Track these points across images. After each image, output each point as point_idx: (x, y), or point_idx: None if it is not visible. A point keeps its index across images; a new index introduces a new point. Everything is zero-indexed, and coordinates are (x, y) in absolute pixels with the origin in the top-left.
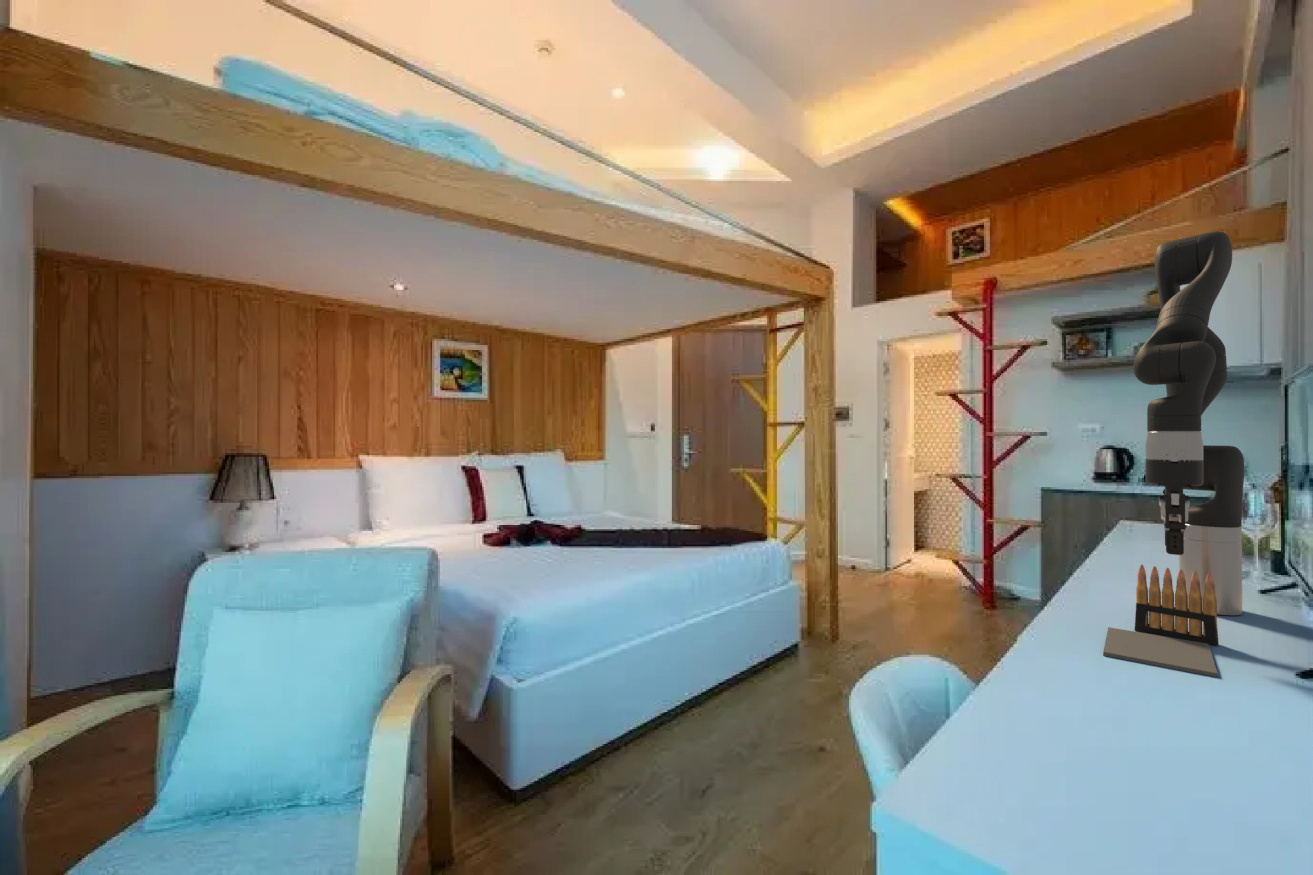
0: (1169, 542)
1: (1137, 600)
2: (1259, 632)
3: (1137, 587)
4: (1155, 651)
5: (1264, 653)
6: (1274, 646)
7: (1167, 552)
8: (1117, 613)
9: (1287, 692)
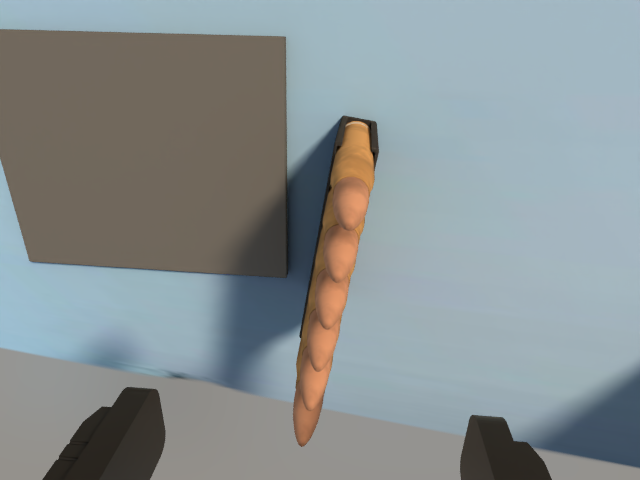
0: (61, 455)
1: (343, 148)
2: (537, 389)
3: (339, 164)
4: (97, 158)
5: None
6: (404, 389)
7: (125, 390)
8: (591, 64)
9: (51, 342)
